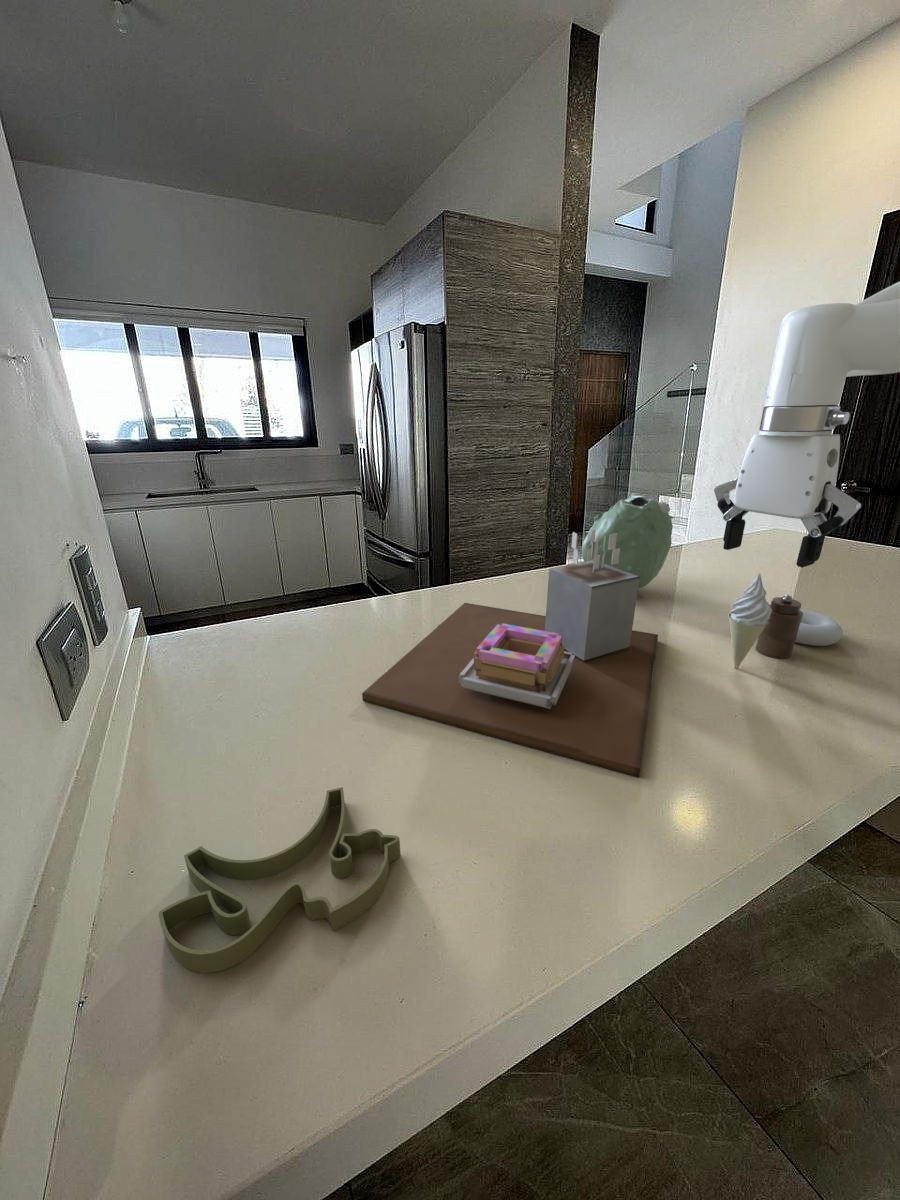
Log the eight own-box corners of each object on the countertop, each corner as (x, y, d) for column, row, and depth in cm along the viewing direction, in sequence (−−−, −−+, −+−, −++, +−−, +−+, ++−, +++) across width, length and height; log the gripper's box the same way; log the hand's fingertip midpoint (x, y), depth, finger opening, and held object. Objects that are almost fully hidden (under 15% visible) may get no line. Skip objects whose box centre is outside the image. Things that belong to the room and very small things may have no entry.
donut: (779, 619, 88) (758, 634, 82) (784, 602, 87) (763, 615, 81) (846, 638, 81) (829, 655, 75) (853, 619, 79) (836, 635, 73)
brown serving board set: (638, 777, 51) (667, 611, 44) (362, 700, 64) (350, 565, 57) (656, 640, 80) (676, 528, 73) (464, 608, 94) (465, 511, 87)
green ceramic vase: (561, 587, 104) (569, 494, 97) (620, 572, 113) (631, 486, 106) (620, 611, 92) (634, 506, 84) (680, 591, 101) (697, 496, 94)
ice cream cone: (762, 670, 71) (788, 574, 65) (742, 680, 68) (768, 581, 63) (729, 656, 75) (751, 565, 69) (709, 664, 72) (730, 570, 67)
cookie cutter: (360, 792, 49) (358, 777, 48) (418, 882, 40) (417, 864, 39) (160, 881, 40) (154, 864, 39) (174, 1024, 31) (166, 1005, 30)
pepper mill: (787, 647, 77) (803, 592, 74) (793, 661, 73) (811, 603, 70) (753, 642, 79) (767, 588, 76) (757, 655, 75) (772, 598, 72)
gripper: (898, 421, 53) (854, 567, 60) (744, 420, 68) (722, 539, 74) (866, 424, 50) (823, 578, 56) (711, 423, 64) (691, 546, 71)
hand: (766, 556), depth 65 cm, fingers open, 9 cm apart
